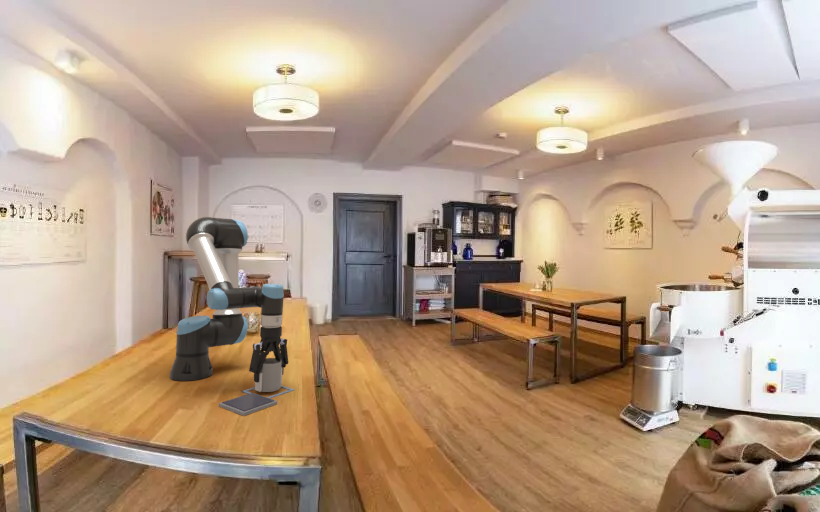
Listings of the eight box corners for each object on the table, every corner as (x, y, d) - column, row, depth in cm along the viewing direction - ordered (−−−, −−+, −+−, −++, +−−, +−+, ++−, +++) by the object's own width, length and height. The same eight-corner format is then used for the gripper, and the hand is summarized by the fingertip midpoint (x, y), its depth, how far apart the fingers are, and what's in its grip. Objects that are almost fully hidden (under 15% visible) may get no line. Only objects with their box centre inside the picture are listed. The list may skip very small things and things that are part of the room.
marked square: (241, 391, 147) (241, 391, 147) (271, 383, 158) (271, 382, 158) (265, 399, 140) (265, 399, 140) (294, 390, 151) (294, 389, 151)
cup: (272, 393, 144) (273, 365, 144) (251, 390, 146) (253, 362, 146) (284, 385, 153) (285, 359, 153) (264, 383, 154) (265, 357, 154)
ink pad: (218, 406, 133) (218, 402, 133) (252, 395, 144) (252, 391, 144) (243, 415, 126) (243, 411, 126) (277, 403, 137) (277, 400, 137)
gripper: (253, 331, 138) (250, 397, 138) (300, 323, 156) (297, 382, 156) (239, 328, 142) (236, 392, 142) (286, 321, 160) (284, 378, 160)
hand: (268, 387), depth 149 cm, fingers closed on cup, 8 cm apart
